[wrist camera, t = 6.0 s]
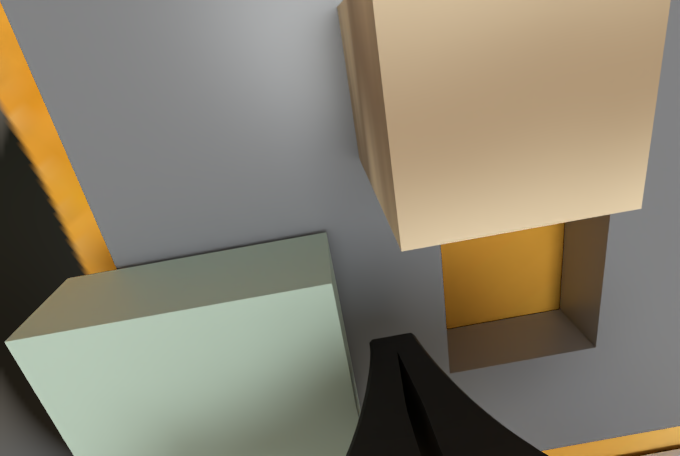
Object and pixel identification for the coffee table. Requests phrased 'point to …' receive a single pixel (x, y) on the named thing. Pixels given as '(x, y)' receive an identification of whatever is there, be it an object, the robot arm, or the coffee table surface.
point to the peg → (502, 110)
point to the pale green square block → (198, 356)
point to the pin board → (349, 200)
